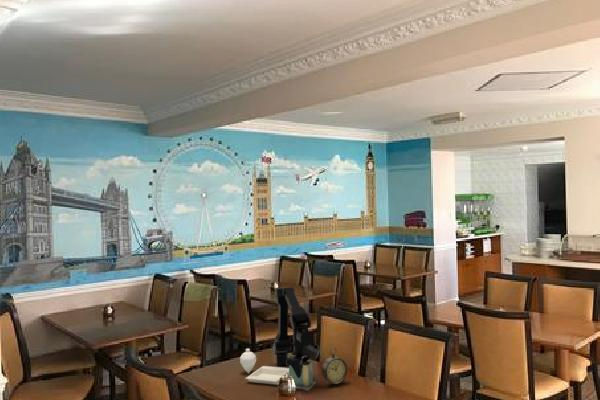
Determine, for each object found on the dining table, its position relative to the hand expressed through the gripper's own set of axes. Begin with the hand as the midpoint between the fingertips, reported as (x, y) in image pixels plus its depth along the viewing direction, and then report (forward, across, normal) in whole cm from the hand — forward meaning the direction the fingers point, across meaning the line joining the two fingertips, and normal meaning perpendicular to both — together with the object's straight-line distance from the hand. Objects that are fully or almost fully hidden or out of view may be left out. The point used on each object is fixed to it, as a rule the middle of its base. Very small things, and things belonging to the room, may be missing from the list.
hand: (301, 375), depth 217 cm
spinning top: (+4, +7, +29) cm, 31 cm away
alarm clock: (+4, +5, -14) cm, 15 cm away
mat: (+4, 0, 0) cm, 4 cm away
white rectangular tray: (+4, +3, +17) cm, 17 cm away
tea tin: (+3, 0, 0) cm, 3 cm away
